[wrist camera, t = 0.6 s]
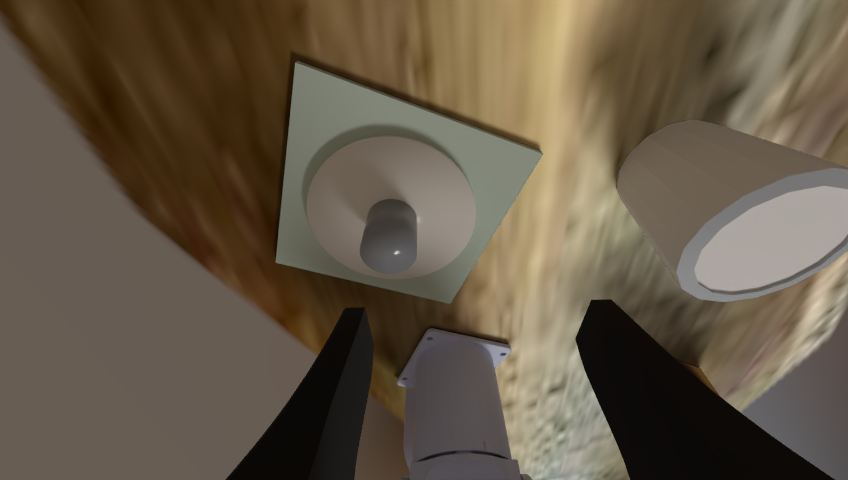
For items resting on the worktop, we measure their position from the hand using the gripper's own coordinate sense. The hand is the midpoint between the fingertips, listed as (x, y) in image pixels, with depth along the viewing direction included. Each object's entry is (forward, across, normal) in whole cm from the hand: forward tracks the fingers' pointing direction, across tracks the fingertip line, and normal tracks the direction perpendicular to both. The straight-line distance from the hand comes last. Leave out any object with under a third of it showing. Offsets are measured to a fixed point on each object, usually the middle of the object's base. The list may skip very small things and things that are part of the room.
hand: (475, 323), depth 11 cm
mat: (+10, +4, +2) cm, 11 cm away
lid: (+10, +4, +2) cm, 11 cm away
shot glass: (+10, -12, 0) cm, 16 cm away
